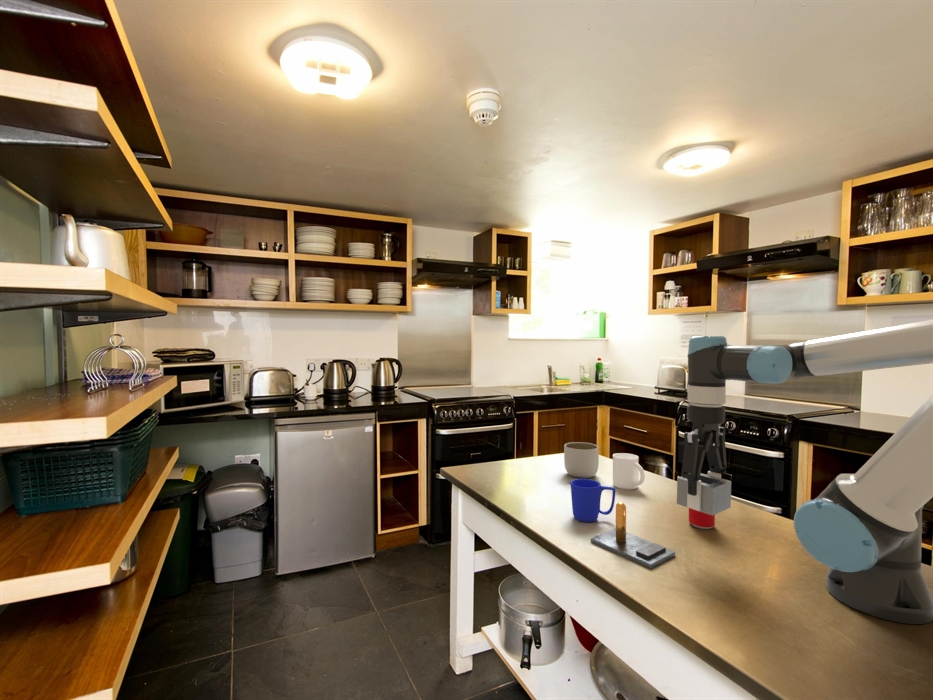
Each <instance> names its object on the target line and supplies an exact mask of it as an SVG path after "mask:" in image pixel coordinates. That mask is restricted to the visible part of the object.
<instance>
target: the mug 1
mask: <svg viewBox="0 0 933 700" xmlns="http://www.w3.org/2000/svg"><path fill="white" fill-rule="evenodd" d="M605 490H607V491H612V496H611V497H612V498H611V503H610V507H609V509H608V510H606V511H602V510H601V497H602V493H603V491H605ZM570 495H571V507H572V508H571V509H572V515H573V518H574V519H575V520H577V521H579V522H582V523H591V522H595V521H597V520H598V519H599V518H598V517H599V514H600V515H603V516H604V515H605V516H608V515H610V514H611V513H612V512H613V510H614V507H615V502H616V487H613V486H606V485H602V484H601V483H600V481H597V480H594V479H589V478H576V479H575V478H574V479H572V480H570Z"/></svg>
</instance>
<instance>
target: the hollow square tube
mask: <svg viewBox="0 0 933 700" xmlns="http://www.w3.org/2000/svg"><path fill="white" fill-rule="evenodd" d="M699 480H700V481H702V484H701V511H700V512H703V513H706V514H709V515H712V516H713V515H715V516H716V515H717V514H719V513H721V512H724V511H726V510H728V509H731V503H732V498H731V497H732V481H731V480H728V479H725V478H722V477H721V478H717V477H713V476H710V475H707V474H705V473H702V472H701V473H700V478H699ZM676 481H677V482H676V483H677V484H676V504H677V505H679V506H682V507H685V508H688V507H687V483H688V480H687V479H686V478H683V477H682V476H679V477H677V479H676Z"/></svg>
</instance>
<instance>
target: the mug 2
mask: <svg viewBox="0 0 933 700" xmlns="http://www.w3.org/2000/svg"><path fill="white" fill-rule="evenodd" d="M639 474H640V475H639ZM639 476H640V477H639ZM645 479H646V474H645V470H644V468H643V467H642V466H641V465H640V464H639V456H638V455H636V454H633V453H625V452H623V453H622V452H620V453H618V452H617V453H613V454H612V485H613V486H614V488H618V489H620V490H629V491H631V490H635V489H637V488H638V487H639V486H642V485H643V484H644V482H645Z"/></svg>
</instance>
